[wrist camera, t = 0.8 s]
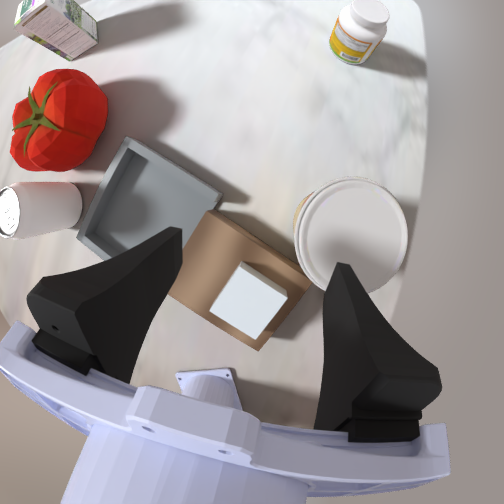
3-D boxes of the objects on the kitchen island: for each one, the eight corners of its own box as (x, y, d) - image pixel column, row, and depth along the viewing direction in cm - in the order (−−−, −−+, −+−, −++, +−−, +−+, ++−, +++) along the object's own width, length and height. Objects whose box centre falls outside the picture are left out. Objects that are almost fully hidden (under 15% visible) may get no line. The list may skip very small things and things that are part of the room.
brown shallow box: (307, 271, 33) (312, 281, 29) (259, 335, 35) (258, 351, 31) (213, 208, 32) (206, 210, 28) (171, 278, 34) (159, 288, 30)
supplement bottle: (354, 28, 26) (375, -12, 17) (376, 59, 27) (405, 24, 18) (320, 38, 27) (334, -6, 18) (342, 70, 28) (365, 32, 18)
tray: (223, 194, 32) (218, 193, 29) (164, 290, 34) (155, 299, 31) (137, 140, 31) (126, 135, 28) (89, 234, 34) (76, 237, 31)
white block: (286, 290, 29) (287, 298, 27) (256, 329, 30) (255, 339, 28) (241, 260, 29) (239, 266, 27) (213, 302, 30) (209, 310, 28)
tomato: (92, 68, 29) (49, 43, 19) (137, 121, 31) (91, 98, 20) (36, 137, 31) (-11, 130, 21) (72, 196, 33) (19, 200, 22)
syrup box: (68, 39, 28) (15, 6, 14) (98, 20, 27) (48, -22, 13) (70, 62, 29) (10, 30, 15) (100, 42, 28) (44, 0, 14)
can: (75, 173, 32) (12, 170, 20) (90, 214, 33) (28, 225, 21) (47, 196, 33) (-13, 202, 21) (61, 236, 34) (2, 252, 22)
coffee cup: (362, 181, 31) (409, 176, 19) (364, 261, 32) (408, 293, 20) (282, 184, 31) (291, 178, 19) (287, 266, 33) (297, 305, 21)
